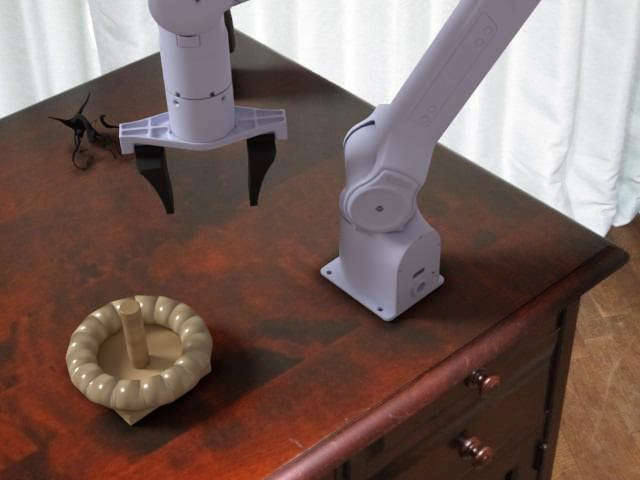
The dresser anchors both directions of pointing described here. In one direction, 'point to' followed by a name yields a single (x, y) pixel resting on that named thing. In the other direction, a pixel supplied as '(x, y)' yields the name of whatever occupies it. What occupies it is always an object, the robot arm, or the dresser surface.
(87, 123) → the creature
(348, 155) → the robot arm
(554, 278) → the dresser surface
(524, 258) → the dresser surface
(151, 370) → the stand
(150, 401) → the segmented beige ring
